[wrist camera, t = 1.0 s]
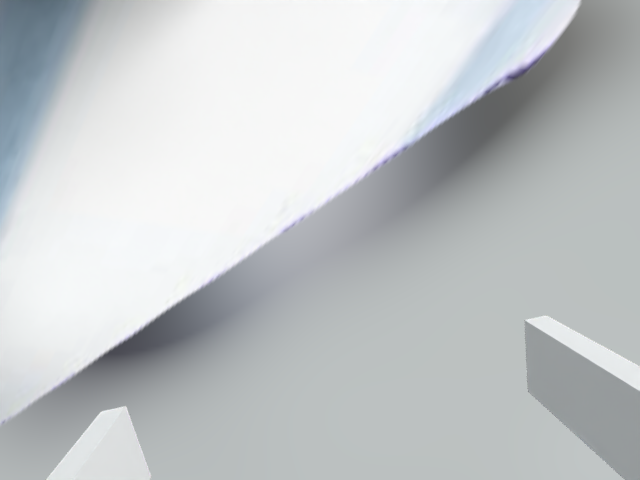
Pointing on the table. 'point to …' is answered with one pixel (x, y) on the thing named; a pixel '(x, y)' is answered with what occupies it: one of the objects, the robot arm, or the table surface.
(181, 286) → the table surface
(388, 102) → the table surface
